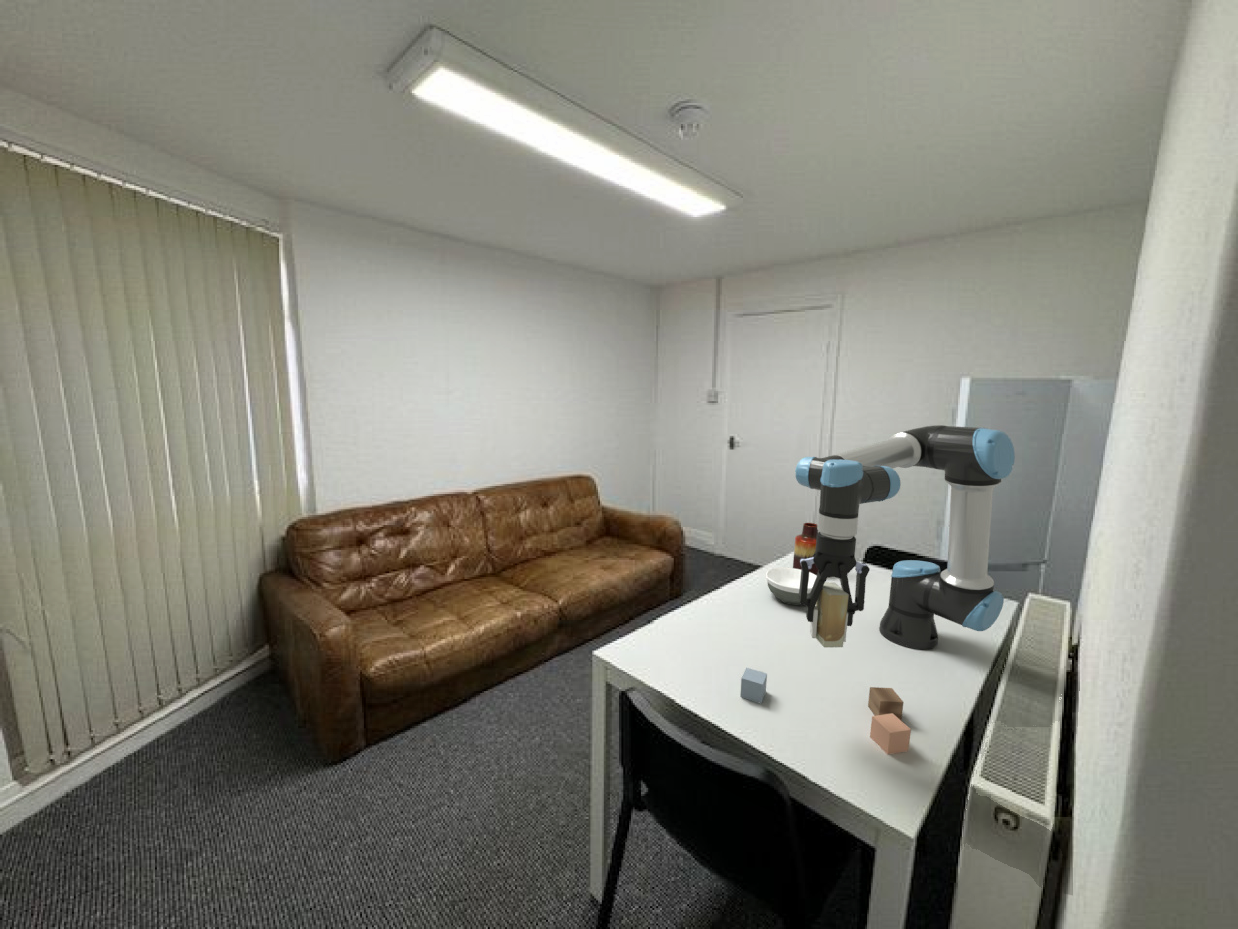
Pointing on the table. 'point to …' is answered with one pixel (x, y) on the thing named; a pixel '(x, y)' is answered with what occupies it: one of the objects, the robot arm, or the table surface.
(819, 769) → the table surface
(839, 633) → the skincare box
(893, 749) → the terracotta cube
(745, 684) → the slate cube
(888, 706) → the walnut cube
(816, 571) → the vase
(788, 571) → the bowl
